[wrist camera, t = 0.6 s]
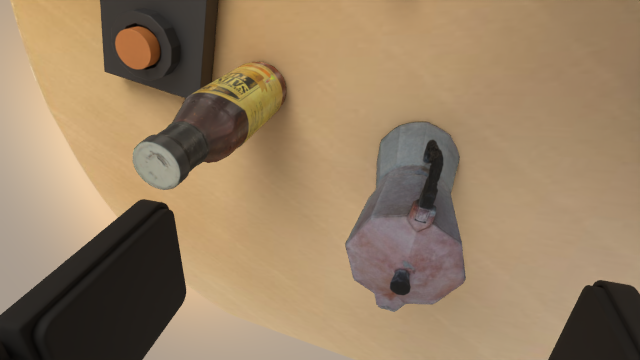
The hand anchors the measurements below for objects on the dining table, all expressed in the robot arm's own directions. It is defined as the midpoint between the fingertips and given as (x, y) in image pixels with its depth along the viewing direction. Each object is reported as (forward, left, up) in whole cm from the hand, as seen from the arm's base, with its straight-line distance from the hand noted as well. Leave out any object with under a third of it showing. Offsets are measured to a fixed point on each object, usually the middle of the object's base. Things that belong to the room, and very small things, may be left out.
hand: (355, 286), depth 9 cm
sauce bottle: (+10, -14, -35) cm, 39 cm away
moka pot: (+12, +5, -35) cm, 38 cm away
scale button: (+8, -26, -31) cm, 42 cm away
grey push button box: (+5, -26, -35) cm, 44 cm away
